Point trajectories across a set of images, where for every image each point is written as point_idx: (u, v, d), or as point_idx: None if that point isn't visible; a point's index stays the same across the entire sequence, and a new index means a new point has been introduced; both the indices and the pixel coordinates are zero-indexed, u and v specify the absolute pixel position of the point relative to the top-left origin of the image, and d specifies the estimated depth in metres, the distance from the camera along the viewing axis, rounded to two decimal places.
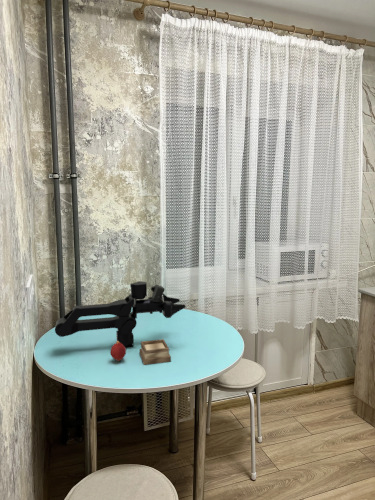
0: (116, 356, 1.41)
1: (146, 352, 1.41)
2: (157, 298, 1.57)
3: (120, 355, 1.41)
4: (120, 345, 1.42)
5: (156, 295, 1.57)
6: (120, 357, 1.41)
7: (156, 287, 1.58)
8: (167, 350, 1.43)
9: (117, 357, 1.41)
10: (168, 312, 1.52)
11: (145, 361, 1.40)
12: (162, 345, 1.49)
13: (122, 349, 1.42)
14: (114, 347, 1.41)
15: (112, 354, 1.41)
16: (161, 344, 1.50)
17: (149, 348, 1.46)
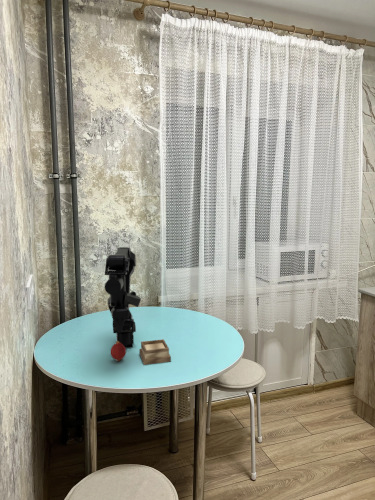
0: (116, 356, 1.41)
1: (146, 352, 1.41)
2: (128, 299, 1.39)
3: (120, 355, 1.41)
4: (120, 345, 1.42)
5: (131, 298, 1.39)
6: (120, 357, 1.41)
7: (138, 297, 1.42)
8: (167, 350, 1.43)
9: (117, 357, 1.41)
10: (119, 314, 1.32)
11: (145, 361, 1.40)
12: (162, 345, 1.49)
13: (122, 349, 1.42)
14: (114, 347, 1.41)
15: (112, 354, 1.41)
16: (161, 344, 1.50)
17: (149, 348, 1.46)
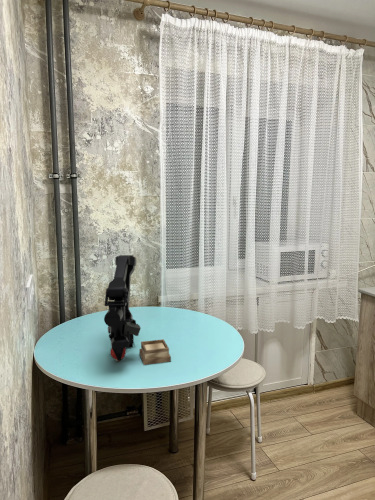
0: None
1: (146, 352, 1.41)
2: (128, 329, 1.40)
3: None
4: None
5: (131, 327, 1.41)
6: None
7: (138, 326, 1.44)
8: (167, 350, 1.43)
9: None
10: (119, 345, 1.33)
11: (145, 361, 1.40)
12: (162, 345, 1.49)
13: None
14: None
15: (112, 354, 1.41)
16: (161, 344, 1.50)
17: (149, 348, 1.46)
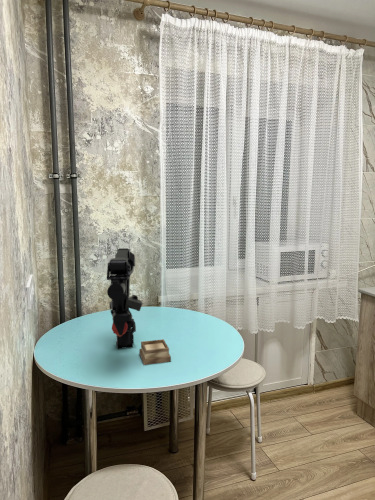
0: (117, 331, 1.39)
1: (146, 352, 1.41)
2: (129, 304, 1.39)
3: None
4: None
5: (133, 302, 1.40)
6: None
7: (140, 301, 1.42)
8: (167, 350, 1.43)
9: None
10: (120, 319, 1.32)
11: (145, 361, 1.40)
12: (162, 345, 1.49)
13: None
14: None
15: (113, 329, 1.40)
16: (161, 344, 1.50)
17: (149, 348, 1.46)
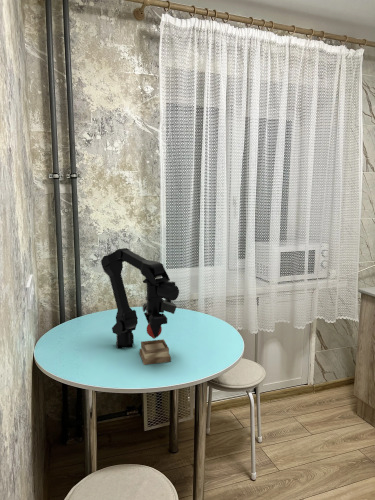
0: None
1: (146, 352, 1.41)
2: (165, 307, 1.42)
3: None
4: None
5: (168, 305, 1.43)
6: None
7: (174, 304, 1.46)
8: (167, 350, 1.43)
9: None
10: (157, 321, 1.35)
11: (145, 361, 1.40)
12: (162, 345, 1.49)
13: None
14: None
15: (149, 331, 1.43)
16: (161, 344, 1.50)
17: (149, 348, 1.46)
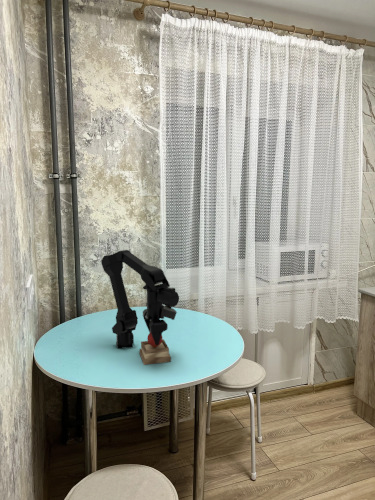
0: (153, 342, 1.43)
1: (146, 352, 1.41)
2: (165, 313, 1.43)
3: None
4: None
5: (168, 311, 1.43)
6: None
7: (174, 310, 1.46)
8: (167, 350, 1.43)
9: (154, 344, 1.43)
10: (158, 328, 1.35)
11: (145, 361, 1.40)
12: (162, 345, 1.49)
13: None
14: None
15: (149, 340, 1.44)
16: (161, 344, 1.50)
17: (149, 348, 1.46)
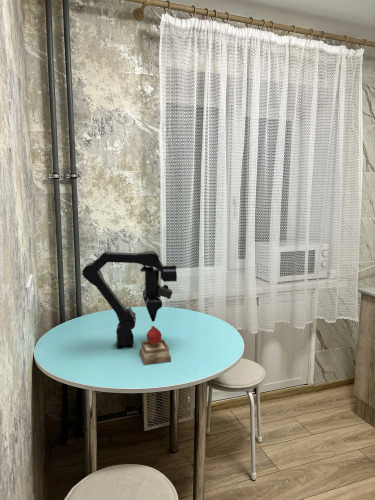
0: (153, 336, 1.45)
1: (146, 352, 1.41)
2: (161, 292, 1.54)
3: (157, 336, 1.45)
4: (156, 328, 1.48)
5: (164, 291, 1.54)
6: (157, 338, 1.45)
7: (170, 290, 1.57)
8: (167, 350, 1.43)
9: (154, 338, 1.45)
10: (153, 304, 1.47)
11: (145, 361, 1.40)
12: (162, 345, 1.49)
13: (158, 331, 1.47)
14: (150, 330, 1.47)
15: (149, 336, 1.46)
16: (161, 344, 1.50)
17: (149, 348, 1.46)
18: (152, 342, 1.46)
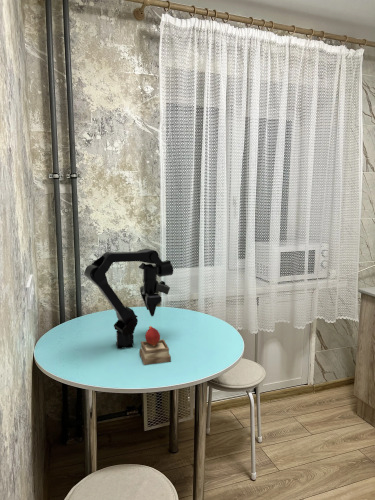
0: (151, 336, 1.45)
1: (146, 352, 1.41)
2: (159, 288, 1.60)
3: (155, 335, 1.46)
4: (153, 328, 1.48)
5: (162, 287, 1.61)
6: (155, 338, 1.45)
7: (167, 286, 1.64)
8: (167, 350, 1.43)
9: (152, 338, 1.45)
10: (153, 300, 1.53)
11: (145, 361, 1.40)
12: (162, 345, 1.49)
13: (156, 330, 1.47)
14: (148, 330, 1.47)
15: (147, 336, 1.46)
16: (161, 344, 1.50)
17: (149, 348, 1.46)
18: (151, 342, 1.46)
